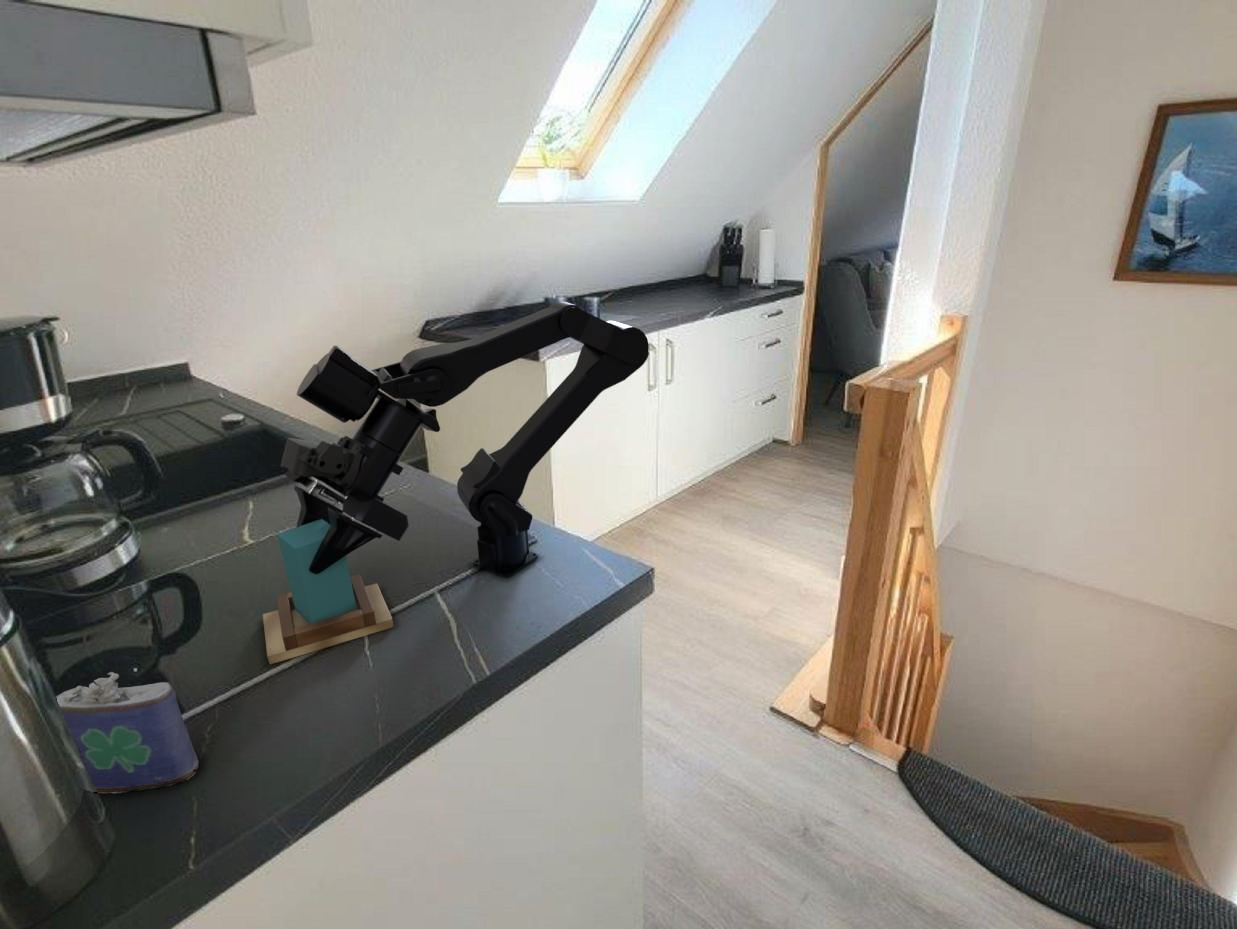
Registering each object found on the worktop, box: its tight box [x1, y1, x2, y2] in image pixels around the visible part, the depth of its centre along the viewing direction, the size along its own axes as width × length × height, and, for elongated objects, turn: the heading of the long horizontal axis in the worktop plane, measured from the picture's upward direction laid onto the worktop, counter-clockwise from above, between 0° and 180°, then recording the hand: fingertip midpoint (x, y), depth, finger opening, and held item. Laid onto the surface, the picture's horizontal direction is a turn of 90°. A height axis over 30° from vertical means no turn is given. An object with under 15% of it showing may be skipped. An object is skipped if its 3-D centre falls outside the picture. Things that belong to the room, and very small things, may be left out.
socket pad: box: [262, 573, 395, 665], centre depth 76 cm, size 13×9×3 cm
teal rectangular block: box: [276, 519, 356, 624], centre depth 74 cm, size 5×5×10 cm
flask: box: [55, 671, 200, 794], centre depth 54 cm, size 9×3×11 cm, turn 95°
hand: (302, 564), depth 72 cm, fingers closed on teal rectangular block, 5 cm apart
